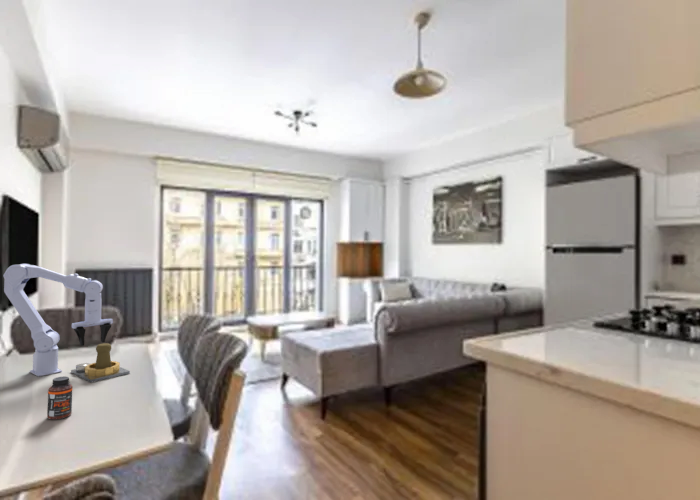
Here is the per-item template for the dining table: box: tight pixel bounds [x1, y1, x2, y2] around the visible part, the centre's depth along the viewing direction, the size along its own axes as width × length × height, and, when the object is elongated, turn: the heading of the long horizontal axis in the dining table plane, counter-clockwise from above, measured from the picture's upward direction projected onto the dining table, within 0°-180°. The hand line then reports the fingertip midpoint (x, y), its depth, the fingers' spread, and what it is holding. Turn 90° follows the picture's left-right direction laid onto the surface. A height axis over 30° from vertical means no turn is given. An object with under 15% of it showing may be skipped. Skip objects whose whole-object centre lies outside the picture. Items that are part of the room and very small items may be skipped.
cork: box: [95, 342, 112, 369], centre depth 159 cm, size 6×6×11 cm
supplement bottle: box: [46, 375, 73, 420], centre depth 120 cm, size 6×6×11 cm
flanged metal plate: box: [70, 360, 131, 383], centre depth 160 cm, size 18×14×4 cm
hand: (92, 343), depth 165 cm, fingers open, 7 cm apart
